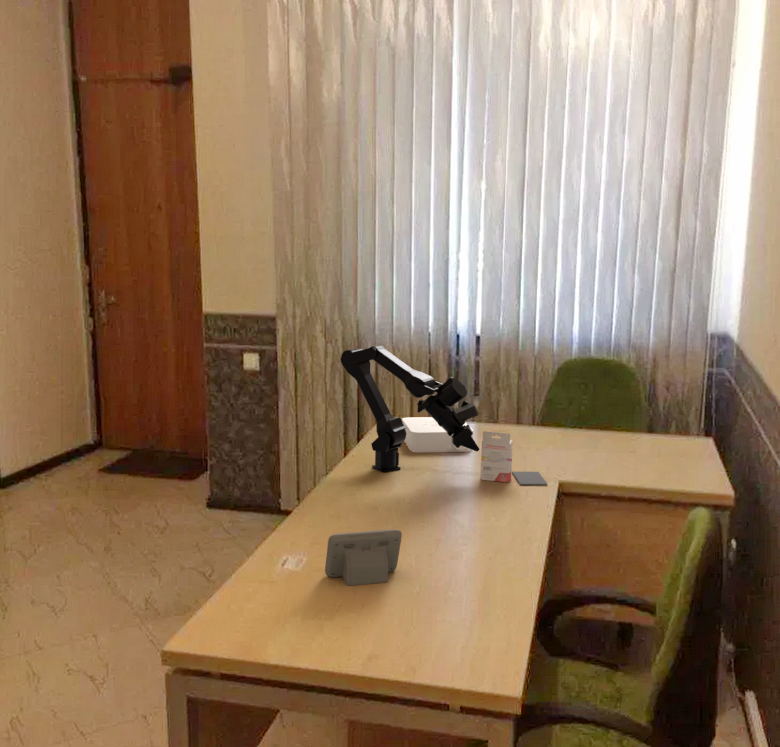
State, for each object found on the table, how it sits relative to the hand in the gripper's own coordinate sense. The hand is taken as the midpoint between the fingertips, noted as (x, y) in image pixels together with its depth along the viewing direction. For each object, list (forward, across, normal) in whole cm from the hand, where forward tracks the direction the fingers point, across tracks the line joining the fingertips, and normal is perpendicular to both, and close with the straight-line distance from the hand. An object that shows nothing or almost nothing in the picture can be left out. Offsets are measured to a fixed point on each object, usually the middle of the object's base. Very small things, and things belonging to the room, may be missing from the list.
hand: (478, 450), depth 258 cm
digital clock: (-18, -70, +31) cm, 79 cm away
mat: (+17, 0, -5) cm, 18 cm away
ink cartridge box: (+10, 0, +2) cm, 11 cm away
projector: (+1, +39, +12) cm, 41 cm away
